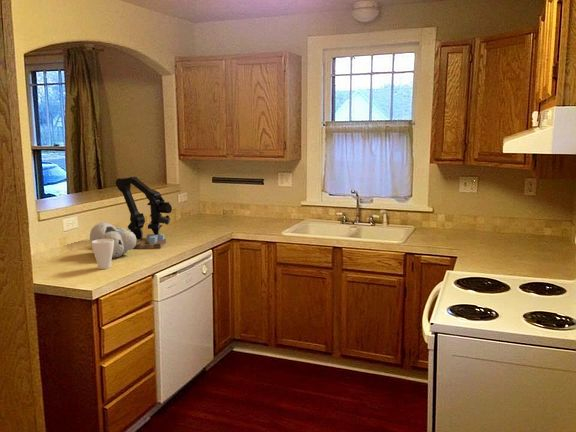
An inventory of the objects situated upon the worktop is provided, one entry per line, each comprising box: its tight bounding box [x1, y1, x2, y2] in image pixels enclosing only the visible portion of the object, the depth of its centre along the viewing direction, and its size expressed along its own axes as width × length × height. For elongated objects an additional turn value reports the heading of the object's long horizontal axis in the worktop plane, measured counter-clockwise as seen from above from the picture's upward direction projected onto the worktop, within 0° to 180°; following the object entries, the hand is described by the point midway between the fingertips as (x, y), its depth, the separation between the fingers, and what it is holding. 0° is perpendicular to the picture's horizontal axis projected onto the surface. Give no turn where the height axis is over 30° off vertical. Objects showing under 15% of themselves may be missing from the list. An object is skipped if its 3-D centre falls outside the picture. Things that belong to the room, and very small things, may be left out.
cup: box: [90, 239, 114, 270], centre depth 259 cm, size 10×10×14 cm
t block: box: [146, 233, 166, 244], centre depth 317 cm, size 10×10×4 cm
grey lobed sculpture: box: [89, 221, 138, 259], centre depth 286 cm, size 20×25×22 cm
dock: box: [133, 238, 167, 250], centre depth 308 cm, size 15×15×2 cm
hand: (157, 237), depth 324 cm, fingers closed
